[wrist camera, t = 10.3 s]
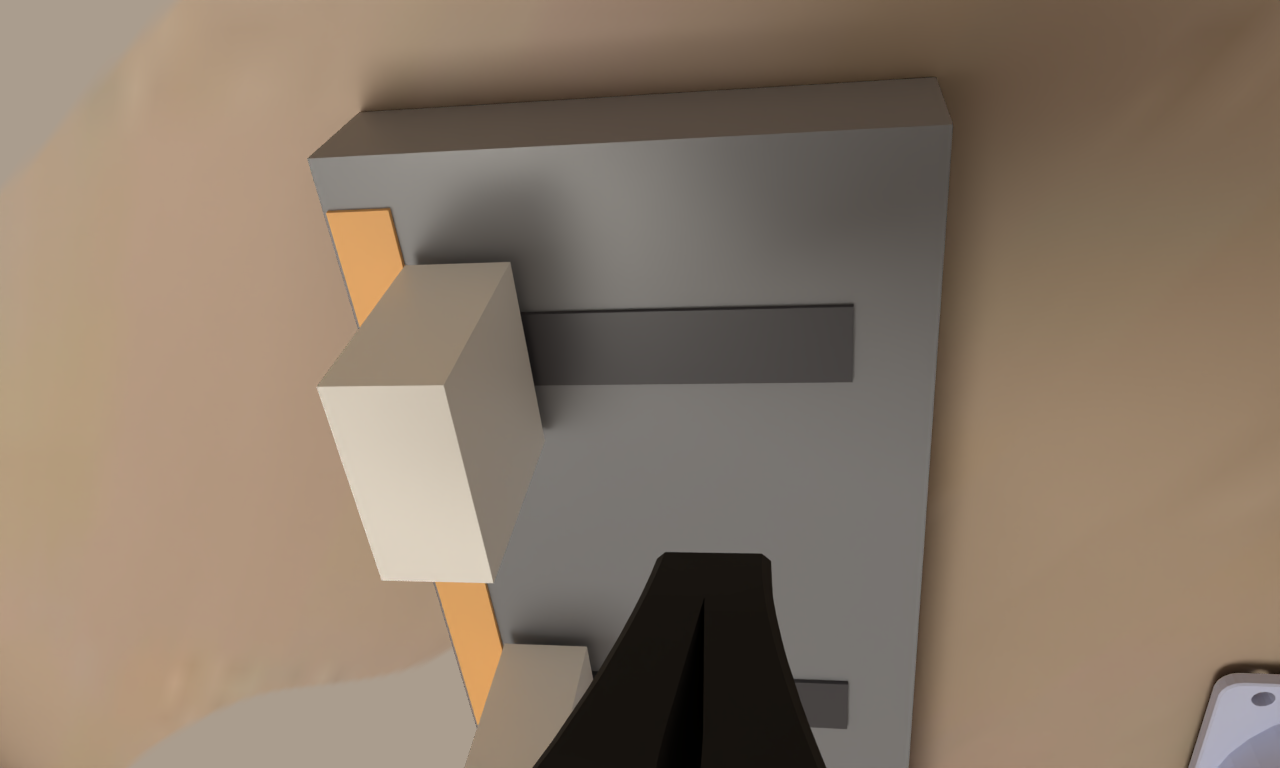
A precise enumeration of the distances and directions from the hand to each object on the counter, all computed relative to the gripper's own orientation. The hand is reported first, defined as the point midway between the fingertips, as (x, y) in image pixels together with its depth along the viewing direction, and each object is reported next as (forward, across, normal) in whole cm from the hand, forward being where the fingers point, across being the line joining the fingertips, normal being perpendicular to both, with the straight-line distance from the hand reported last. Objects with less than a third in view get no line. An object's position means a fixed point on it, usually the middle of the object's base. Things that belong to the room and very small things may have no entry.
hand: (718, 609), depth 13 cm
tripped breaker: (+7, +5, 0) cm, 8 cm away
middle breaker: (+7, +5, +10) cm, 13 cm away
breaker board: (+9, +2, +10) cm, 14 cm away
